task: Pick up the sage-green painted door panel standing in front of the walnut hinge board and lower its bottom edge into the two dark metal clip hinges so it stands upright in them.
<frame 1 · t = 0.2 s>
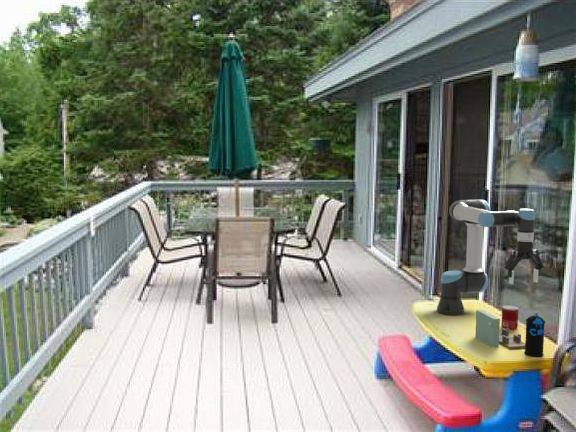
hand: (523, 282, 291), 28 cm above the table, tool pointing down, fingers open, 13 cm apart
hinge board: (505, 340, 289), on the table
canned food: (509, 327, 309), on the table
door: (486, 342, 287), on the table
aerosol can: (533, 354, 270), on the table
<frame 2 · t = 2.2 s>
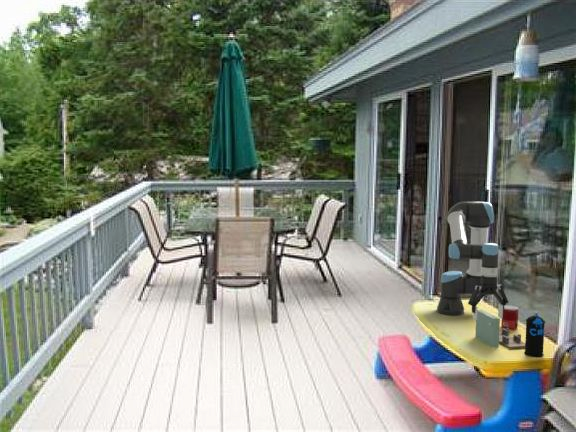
hand: (487, 318, 285), 12 cm above the table, tool pointing down, fingers open, 13 cm apart
nothing on the table moved.
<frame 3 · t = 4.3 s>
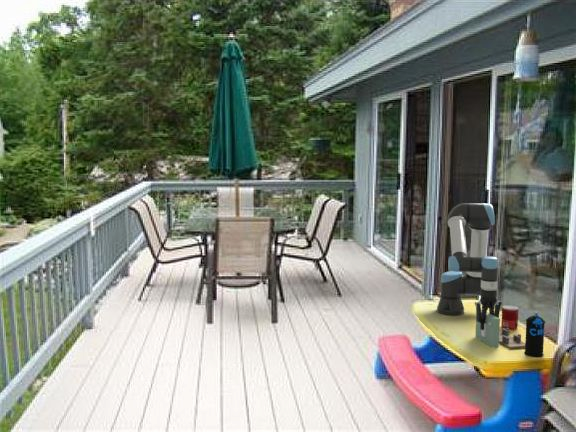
hand: (486, 335, 287), 3 cm above the table, tool pointing down, fingers closed on door, 3 cm apart
door: (486, 341, 287), on the table, touching gripper
everything else where it was.
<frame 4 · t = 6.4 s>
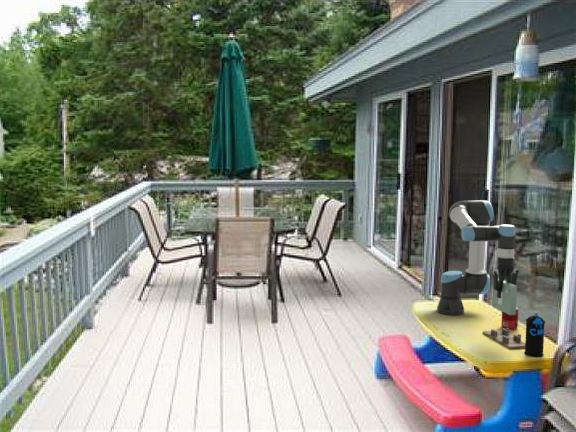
hand: (503, 304, 287), 18 cm above the table, tool pointing down, fingers closed on door, 3 cm apart
door: (503, 310, 287), point 15 cm above the table, touching gripper
everything else where it was.
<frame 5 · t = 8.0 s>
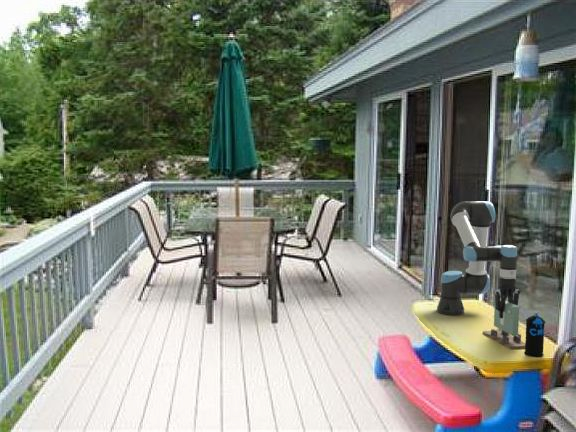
hand: (505, 324, 288), 8 cm above the table, tool pointing down, fingers closed on door, 3 cm apart
door: (505, 330, 288), point 5 cm above the table, touching gripper
everything else where it was.
when the fingers open (6 cm above the table, at t = 9.0 s): door drops 1 cm, resting on hinge board.
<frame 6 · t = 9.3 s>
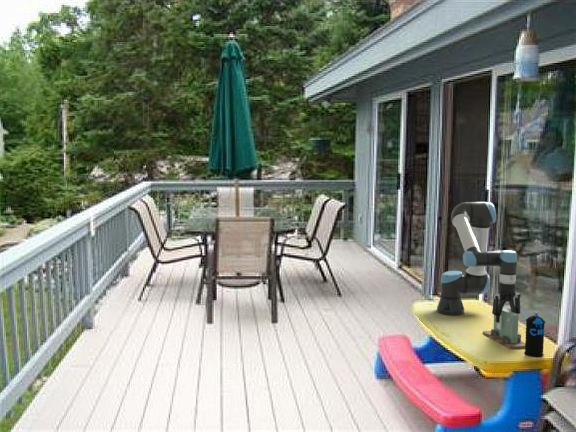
hand: (505, 328, 288), 6 cm above the table, tool pointing down, fingers open, 7 cm apart
door: (505, 338, 289), point 1 cm above the table, touching hinge board
everything else where it was.
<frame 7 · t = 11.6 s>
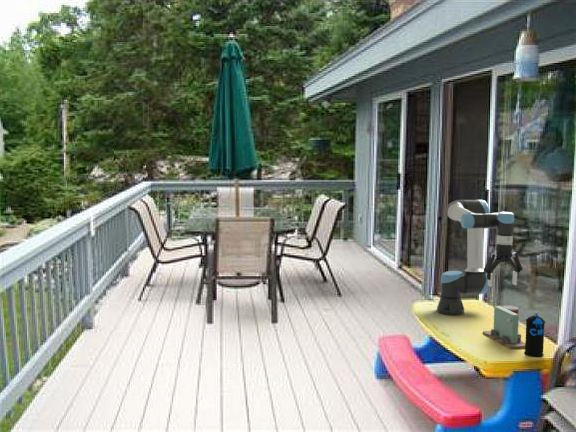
hand: (502, 285, 293), 26 cm above the table, tool pointing down, fingers open, 13 cm apart
nothing on the table moved.
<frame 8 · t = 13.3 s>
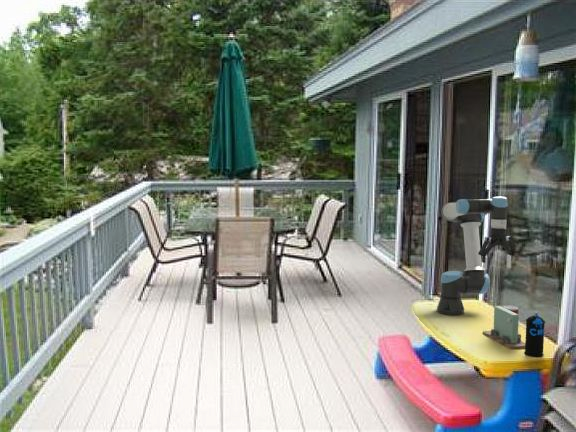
hand: (496, 268, 302), 33 cm above the table, tool pointing down, fingers open, 13 cm apart
nothing on the table moved.
at the end: door 0.0 cm off-centre on the hinge board, point 1.2 cm above the hinge board's base; door tilted 0°; the gripper is holding nothing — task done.
